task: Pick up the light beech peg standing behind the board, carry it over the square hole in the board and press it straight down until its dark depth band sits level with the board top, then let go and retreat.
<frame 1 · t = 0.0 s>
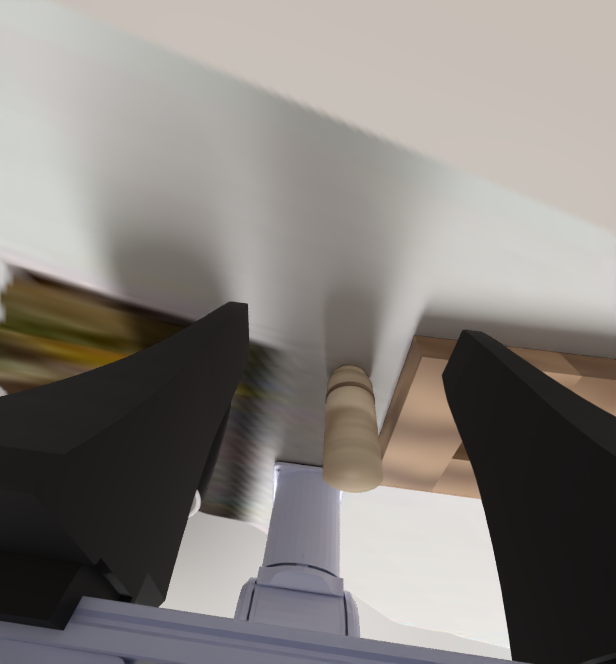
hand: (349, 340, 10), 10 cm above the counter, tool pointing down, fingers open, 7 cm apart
mug: (190, 382, 27), on the counter
peg: (349, 378, 25), on the counter
board: (480, 420, 26), on the counter
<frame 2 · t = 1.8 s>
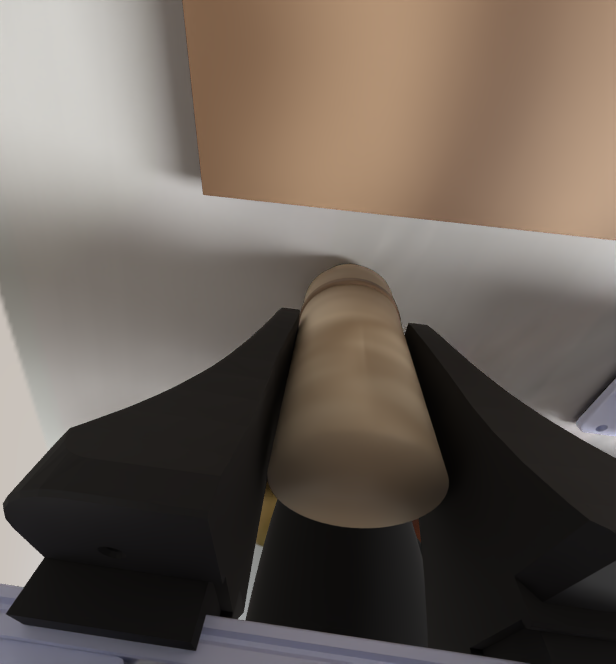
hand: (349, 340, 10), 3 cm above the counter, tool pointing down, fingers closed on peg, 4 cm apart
mug: (357, 474, 21), on the counter
peg: (347, 295, 13), on the counter, touching gripper
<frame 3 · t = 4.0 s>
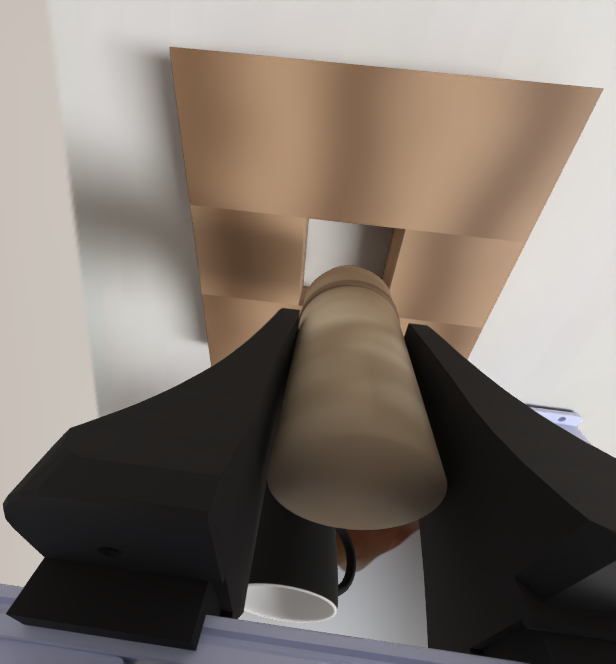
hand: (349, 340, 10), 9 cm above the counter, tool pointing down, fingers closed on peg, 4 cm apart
mug: (308, 484, 32), on the counter
peg: (346, 296, 13), point 5 cm above the counter, touching gripper
board: (346, 254, 17), on the counter
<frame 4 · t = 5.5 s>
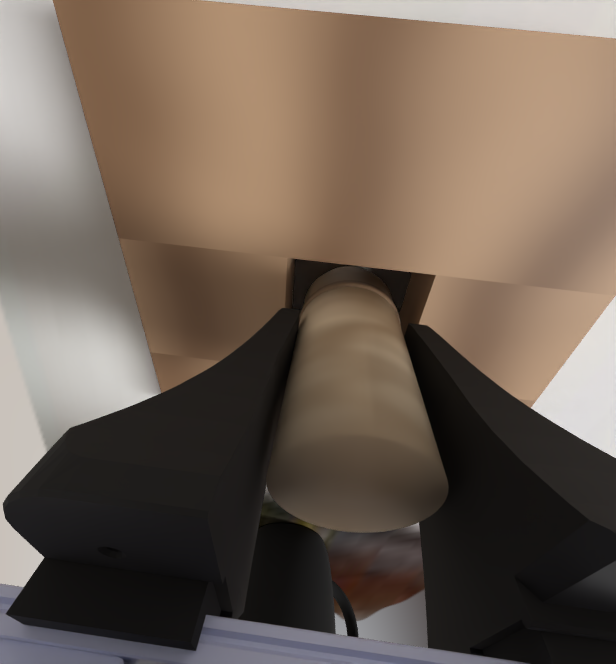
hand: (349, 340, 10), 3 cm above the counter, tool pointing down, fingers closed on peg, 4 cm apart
mug: (303, 541, 28), on the counter
peg: (347, 297, 13), resting in board, touching gripper
board: (347, 296, 13), on the counter
when the fingers open (3 cm above the counter, at t = 6.1 s): peg stays where it is, resting in board.
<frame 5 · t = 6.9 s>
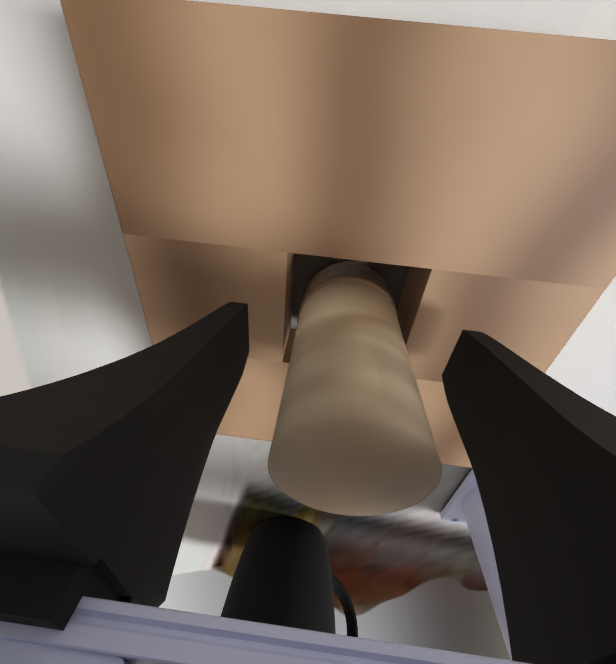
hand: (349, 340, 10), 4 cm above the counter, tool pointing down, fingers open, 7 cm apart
mug: (303, 535, 28), on the counter
peg: (345, 292, 13), resting in board
board: (346, 291, 13), on the counter
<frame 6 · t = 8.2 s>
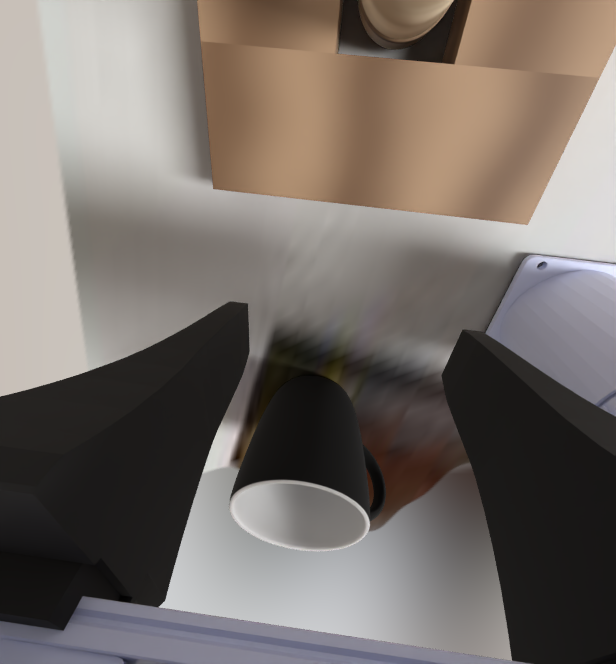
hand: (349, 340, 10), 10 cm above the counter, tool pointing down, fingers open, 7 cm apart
mug: (327, 406, 27), on the counter
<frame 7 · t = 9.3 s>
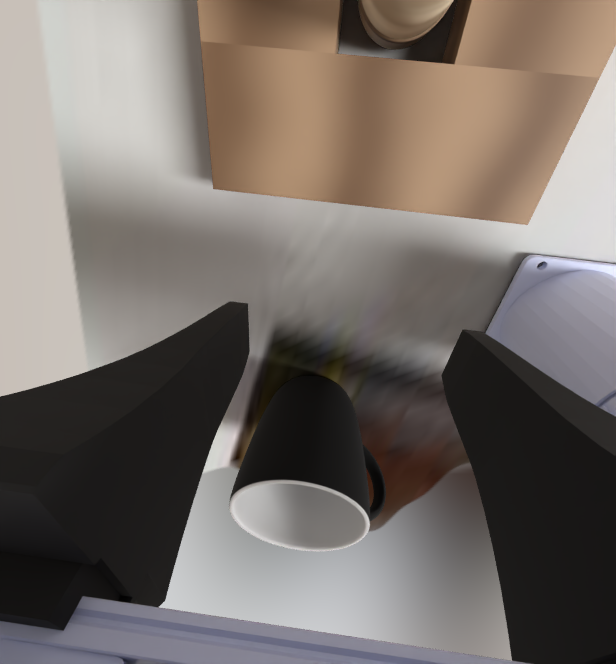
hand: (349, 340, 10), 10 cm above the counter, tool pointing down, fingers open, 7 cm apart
mug: (327, 406, 27), on the counter
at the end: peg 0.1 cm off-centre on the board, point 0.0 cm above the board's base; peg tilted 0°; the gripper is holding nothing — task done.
